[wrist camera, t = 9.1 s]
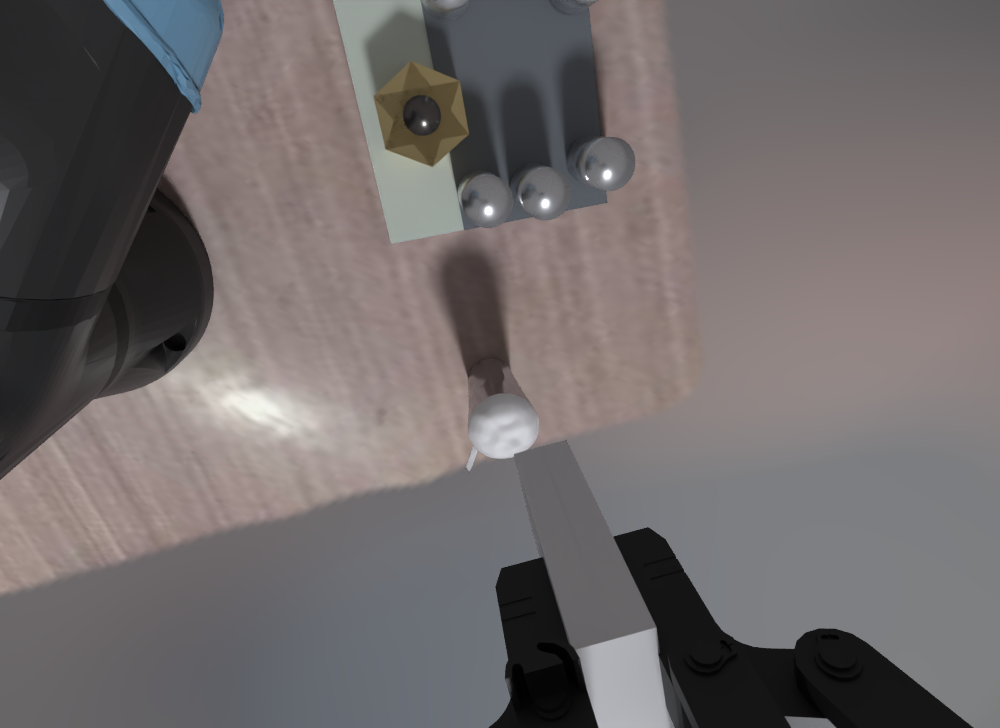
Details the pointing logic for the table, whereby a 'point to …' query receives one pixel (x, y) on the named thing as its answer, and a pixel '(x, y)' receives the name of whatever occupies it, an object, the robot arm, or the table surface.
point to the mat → (475, 98)
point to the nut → (421, 114)
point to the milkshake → (498, 412)
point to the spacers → (534, 183)
